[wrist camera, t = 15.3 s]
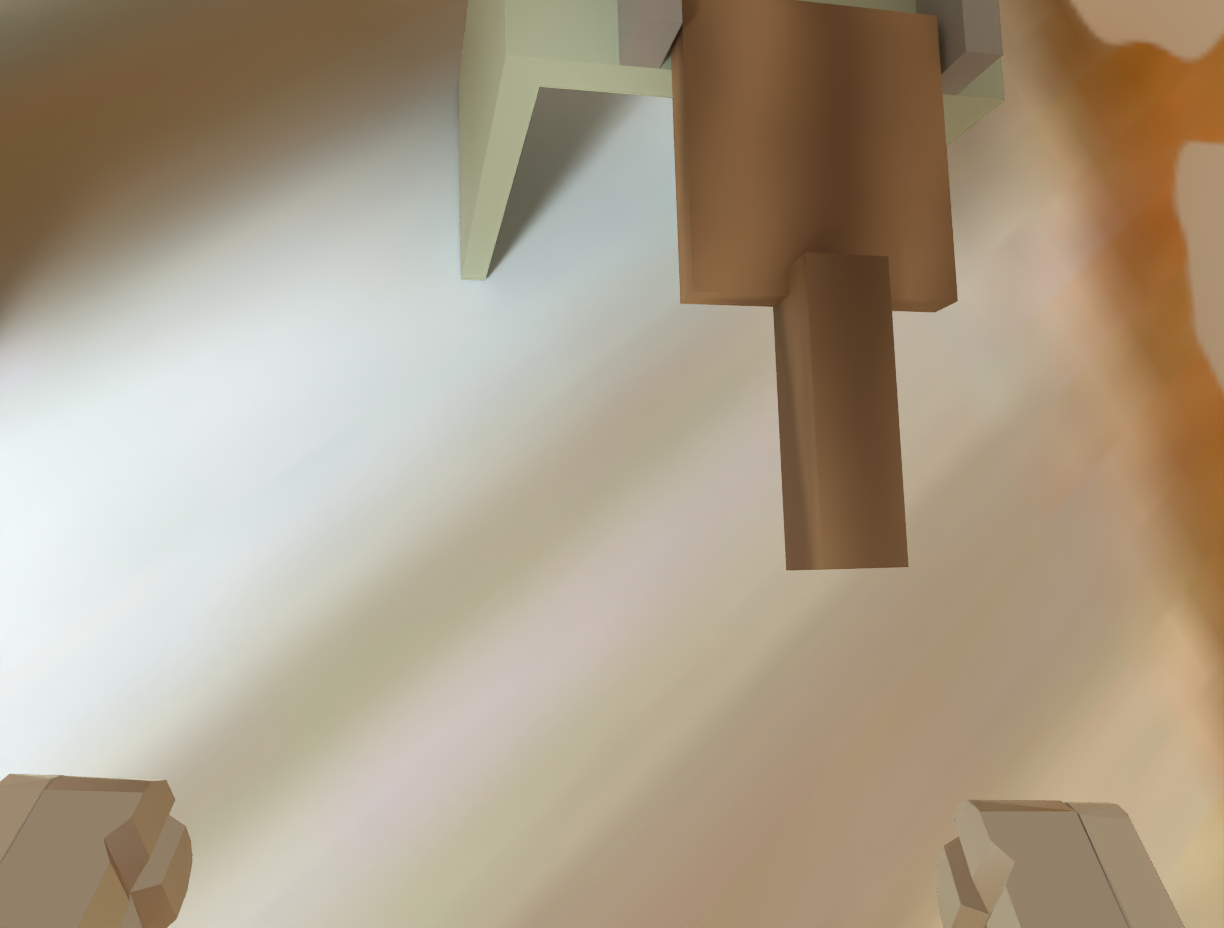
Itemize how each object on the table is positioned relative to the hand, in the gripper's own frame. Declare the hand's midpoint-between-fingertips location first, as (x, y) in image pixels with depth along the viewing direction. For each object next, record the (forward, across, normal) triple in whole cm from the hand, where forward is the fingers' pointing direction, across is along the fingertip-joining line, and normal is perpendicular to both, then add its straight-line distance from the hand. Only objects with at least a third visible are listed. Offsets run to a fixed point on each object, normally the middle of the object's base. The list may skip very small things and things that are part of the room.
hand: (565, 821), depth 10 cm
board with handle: (+26, +8, -6) cm, 28 cm away
